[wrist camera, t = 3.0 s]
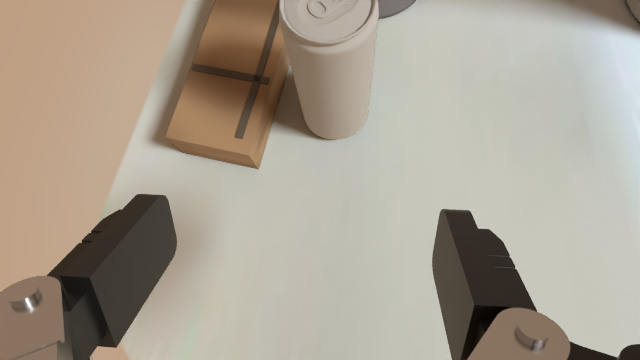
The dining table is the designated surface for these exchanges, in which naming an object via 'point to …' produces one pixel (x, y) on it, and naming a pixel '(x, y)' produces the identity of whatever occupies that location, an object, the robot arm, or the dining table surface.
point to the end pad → (392, 7)
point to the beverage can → (331, 61)
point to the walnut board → (233, 84)
